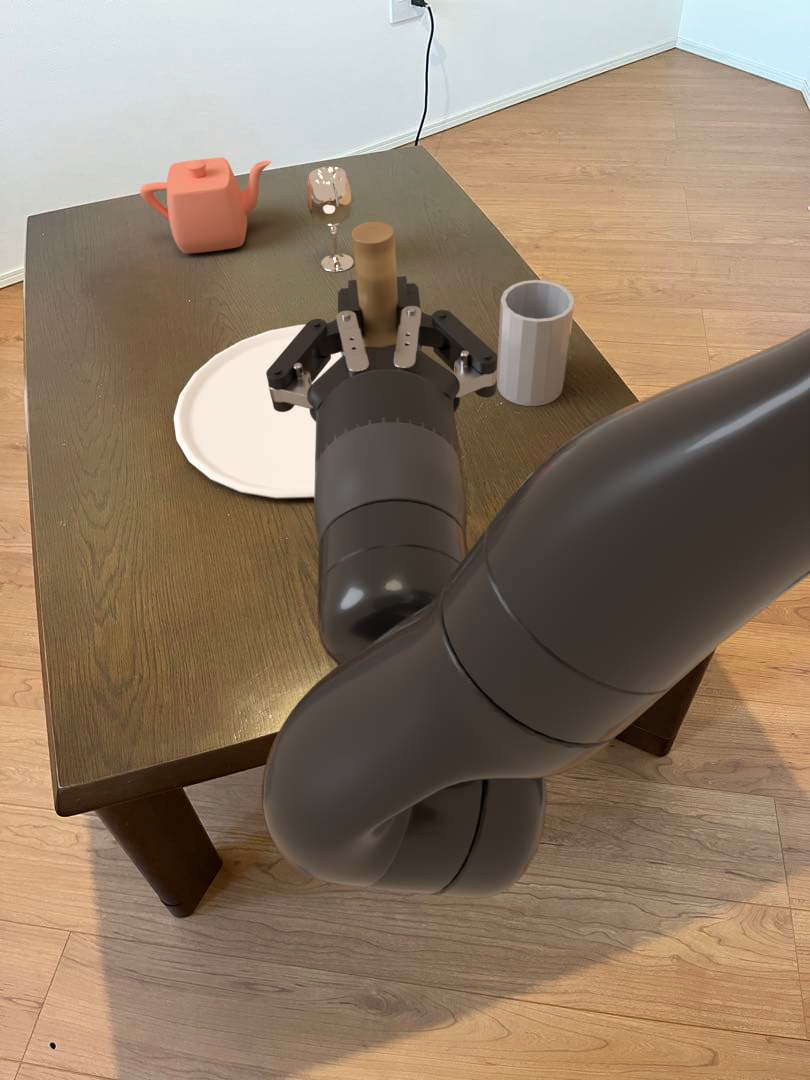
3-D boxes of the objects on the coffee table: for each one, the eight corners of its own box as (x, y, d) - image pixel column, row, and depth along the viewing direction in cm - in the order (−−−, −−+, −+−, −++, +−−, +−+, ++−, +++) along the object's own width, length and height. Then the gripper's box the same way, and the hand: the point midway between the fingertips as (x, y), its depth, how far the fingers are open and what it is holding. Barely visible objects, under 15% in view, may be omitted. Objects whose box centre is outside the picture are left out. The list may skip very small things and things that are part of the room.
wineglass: (308, 270, 111) (296, 182, 102) (327, 248, 114) (316, 161, 105) (347, 277, 109) (338, 189, 100) (365, 255, 113) (358, 167, 103)
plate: (493, 419, 90) (493, 410, 89) (262, 550, 79) (260, 541, 78) (341, 302, 106) (340, 293, 105) (131, 398, 95) (127, 389, 94)
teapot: (155, 223, 121) (135, 151, 113) (279, 207, 122) (267, 135, 114) (153, 265, 113) (131, 191, 105) (285, 248, 115) (272, 174, 107)
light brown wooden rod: (418, 471, 63) (405, 221, 48) (406, 499, 61) (389, 248, 46) (380, 465, 64) (356, 216, 48) (368, 492, 62) (338, 242, 47)
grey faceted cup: (568, 369, 95) (579, 284, 87) (556, 411, 90) (567, 325, 82) (504, 360, 97) (509, 276, 88) (490, 400, 92) (494, 315, 84)
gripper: (530, 415, 39) (487, 227, 51) (237, 436, 39) (259, 244, 51) (521, 521, 45) (484, 331, 56) (265, 539, 45) (279, 346, 56)
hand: (377, 291), depth 53 cm, fingers closed on light brown wooden rod, 2 cm apart
